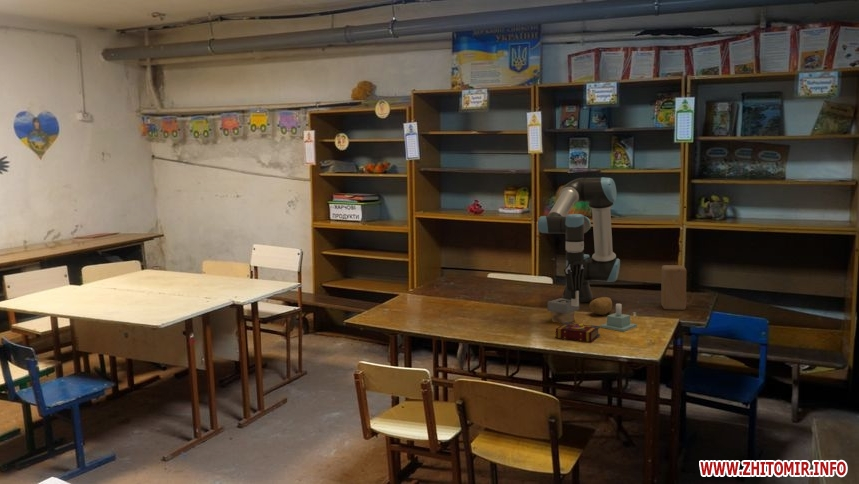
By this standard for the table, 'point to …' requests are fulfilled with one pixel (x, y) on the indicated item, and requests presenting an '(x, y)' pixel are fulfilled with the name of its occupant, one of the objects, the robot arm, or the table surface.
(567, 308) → the grey square frame
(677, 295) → the wooden block
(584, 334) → the decorative book
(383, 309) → the table surface
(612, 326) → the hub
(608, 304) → the potato
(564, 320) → the stand
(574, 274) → the robot arm
